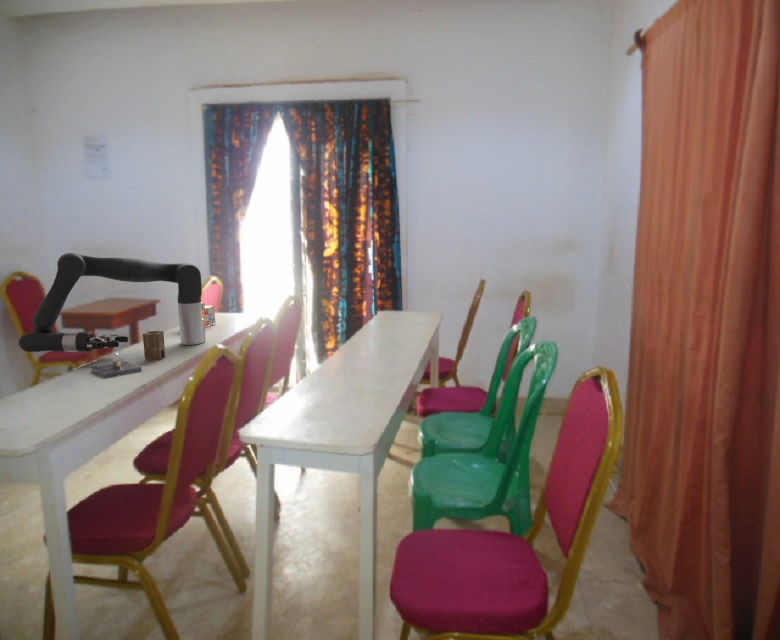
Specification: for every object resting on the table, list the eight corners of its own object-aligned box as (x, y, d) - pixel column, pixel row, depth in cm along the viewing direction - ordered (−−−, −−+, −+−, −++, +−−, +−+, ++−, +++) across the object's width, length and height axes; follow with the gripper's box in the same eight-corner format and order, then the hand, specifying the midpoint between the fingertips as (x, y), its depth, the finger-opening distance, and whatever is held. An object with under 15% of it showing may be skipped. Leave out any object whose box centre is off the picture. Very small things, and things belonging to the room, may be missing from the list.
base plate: (91, 371, 203) (89, 353, 202) (126, 365, 211) (124, 347, 210) (105, 378, 195) (103, 359, 194) (141, 371, 203) (139, 352, 202)
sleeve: (144, 360, 218) (142, 334, 216) (150, 356, 224) (148, 331, 222) (160, 360, 218) (158, 333, 217) (165, 356, 224) (163, 330, 222)
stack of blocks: (203, 323, 290) (202, 299, 288) (215, 324, 289) (214, 299, 287) (180, 332, 270) (178, 306, 268) (193, 332, 269) (191, 306, 266)
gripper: (68, 336, 211) (114, 335, 212) (87, 328, 225) (130, 328, 226) (70, 356, 212) (116, 355, 213) (88, 347, 226) (131, 347, 227)
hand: (123, 341), depth 219 cm, fingers open, 8 cm apart
